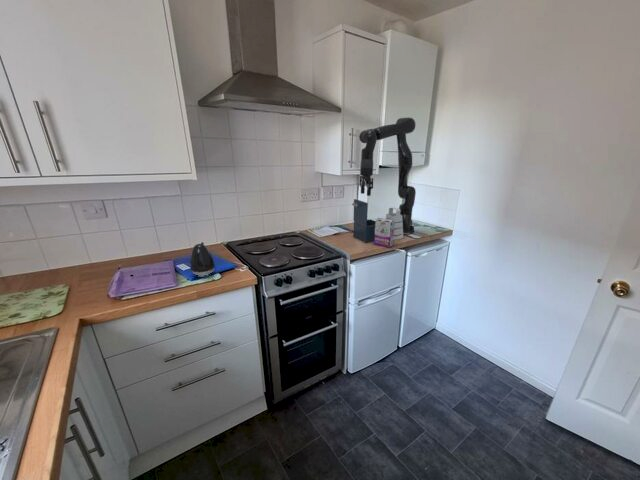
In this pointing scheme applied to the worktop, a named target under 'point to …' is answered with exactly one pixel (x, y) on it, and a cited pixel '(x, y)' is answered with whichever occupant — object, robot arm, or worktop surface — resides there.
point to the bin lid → (360, 212)
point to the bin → (365, 231)
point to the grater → (396, 222)
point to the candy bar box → (384, 232)
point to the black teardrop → (201, 261)
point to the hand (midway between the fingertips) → (365, 194)
